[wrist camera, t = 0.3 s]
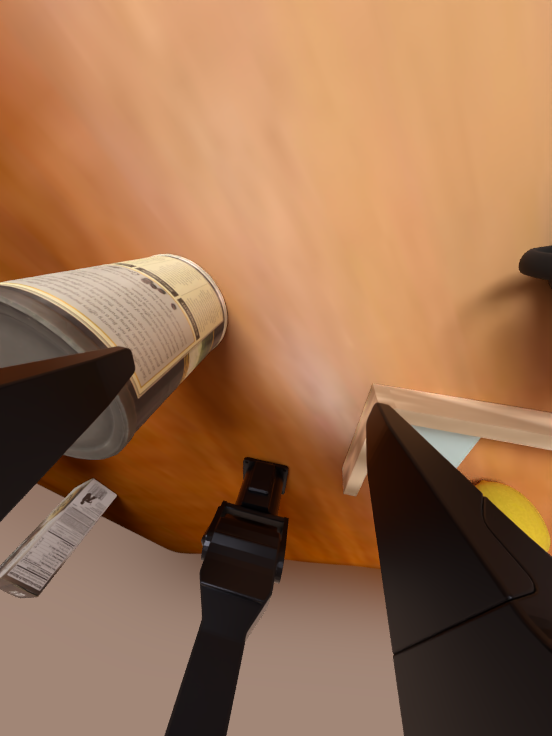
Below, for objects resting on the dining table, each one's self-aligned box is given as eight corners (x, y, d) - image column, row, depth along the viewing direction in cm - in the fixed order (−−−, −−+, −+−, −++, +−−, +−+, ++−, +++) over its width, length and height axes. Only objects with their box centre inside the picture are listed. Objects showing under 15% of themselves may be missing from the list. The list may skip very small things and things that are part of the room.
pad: (451, 470, 28) (452, 472, 27) (386, 457, 28) (386, 459, 28) (486, 425, 24) (488, 427, 23) (409, 411, 25) (410, 413, 24)
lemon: (504, 496, 28) (559, 581, 21) (451, 493, 30) (487, 571, 23) (519, 467, 25) (587, 553, 19) (460, 464, 27) (504, 543, 20)
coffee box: (99, 503, 53) (20, 599, 39) (74, 486, 51) (-18, 582, 37) (119, 495, 49) (38, 599, 35) (93, 477, 46) (-4, 580, 33)
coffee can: (229, 362, 26) (144, 478, 14) (143, 345, 27) (-3, 439, 15) (228, 260, 20) (87, 310, 8) (121, 245, 21) (-138, 269, 9)
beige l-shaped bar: (514, 504, 28) (535, 536, 26) (342, 468, 31) (343, 493, 28) (609, 422, 21) (654, 453, 18) (372, 383, 24) (378, 405, 21)
